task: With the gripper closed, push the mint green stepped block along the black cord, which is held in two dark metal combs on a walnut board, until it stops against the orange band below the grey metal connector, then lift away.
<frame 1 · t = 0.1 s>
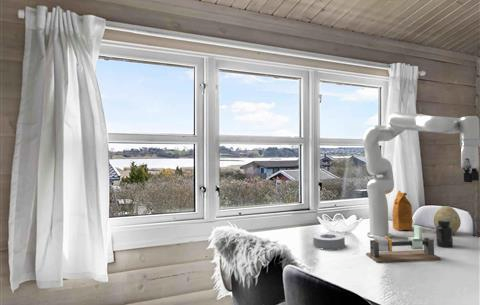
hand: (471, 181, 165), 31 cm above the table, tool pointing down, fingers open, 9 cm apart
coffee package: (402, 229, 214), on the table
mint green stepped block: (415, 237, 158), point 9 cm above the table, slide at 0.0 cm
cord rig: (402, 257, 158), on the table
fossilized egg: (447, 234, 198), on the table
supplement bottle: (444, 246, 174), on the table
tape roll: (328, 246, 182), on the table
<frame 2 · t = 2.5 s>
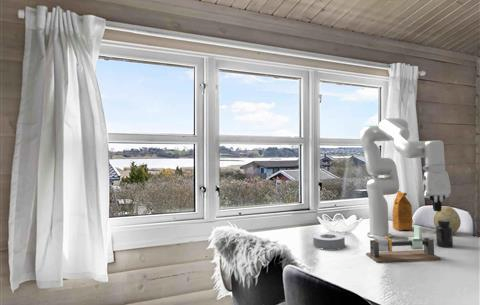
hand: (437, 211, 158), 19 cm above the table, tool pointing down, fingers closed
nothing on the table moved.
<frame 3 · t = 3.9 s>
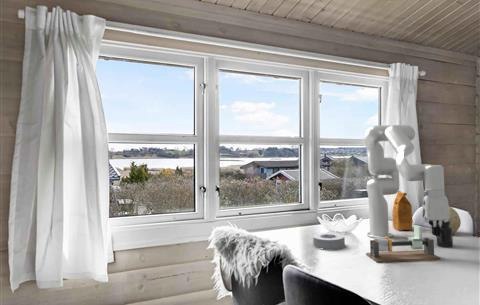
hand: (436, 235, 158), 9 cm above the table, tool pointing down, fingers closed
nothing on the table moved.
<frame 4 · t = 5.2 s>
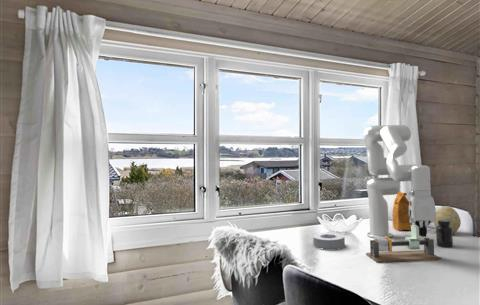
hand: (422, 236, 158), 9 cm above the table, tool pointing down, fingers closed
mint green stepped block: (412, 237, 158), point 9 cm above the table, slide at 1.3 cm, touching gripper
everything else where it was.
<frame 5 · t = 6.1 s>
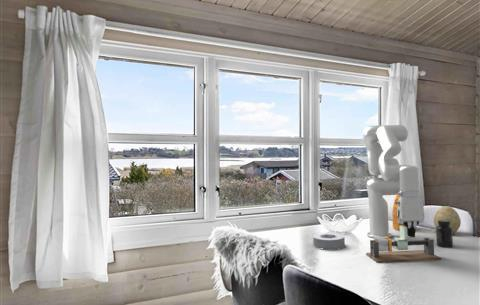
hand: (411, 236, 158), 9 cm above the table, tool pointing down, fingers closed
mint green stepped block: (400, 237, 158), point 9 cm above the table, slide at 6.4 cm, touching gripper
everything else where it was.
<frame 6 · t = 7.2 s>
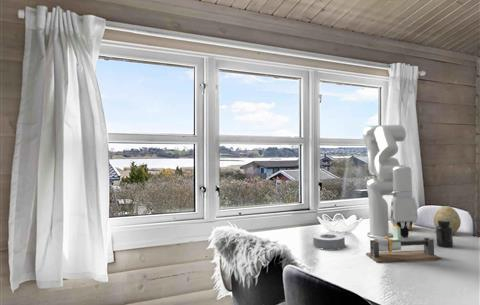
hand: (404, 236, 158), 9 cm above the table, tool pointing down, fingers closed
mint green stepped block: (393, 238, 158), point 9 cm above the table, slide at 9.4 cm, touching gripper
everything else where it was.
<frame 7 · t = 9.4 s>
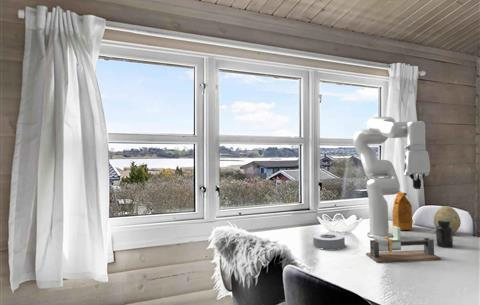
hand: (416, 188, 166), 29 cm above the table, tool pointing down, fingers closed
mint green stepped block: (393, 238, 158), point 8 cm above the table, slide at 9.4 cm
everything else where it was.
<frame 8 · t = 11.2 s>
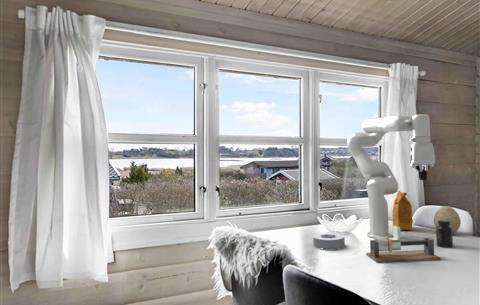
hand: (422, 179, 171), 32 cm above the table, tool pointing down, fingers closed
nothing on the table moved.
at the end: mint green stepped block slide at 9.4 cm; the gripper is holding nothing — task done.
